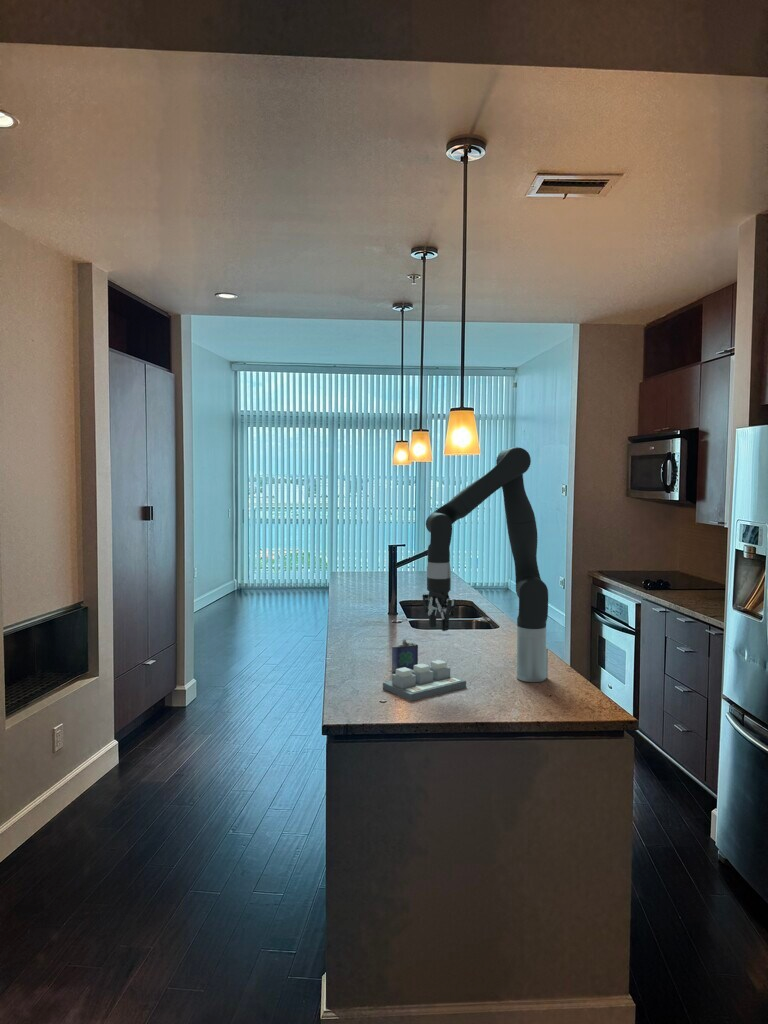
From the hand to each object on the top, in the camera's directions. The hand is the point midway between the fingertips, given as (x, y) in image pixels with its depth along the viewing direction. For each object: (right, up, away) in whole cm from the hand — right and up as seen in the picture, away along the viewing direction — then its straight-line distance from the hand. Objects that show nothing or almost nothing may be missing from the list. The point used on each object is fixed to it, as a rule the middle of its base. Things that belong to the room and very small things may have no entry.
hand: (438, 628), depth 213 cm
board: (-5, -18, -4) cm, 19 cm away
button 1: (-11, -14, -7) cm, 20 cm away
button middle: (-6, -14, -3) cm, 15 cm away
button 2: (0, -14, +1) cm, 14 cm away
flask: (-10, -17, +14) cm, 24 cm away
